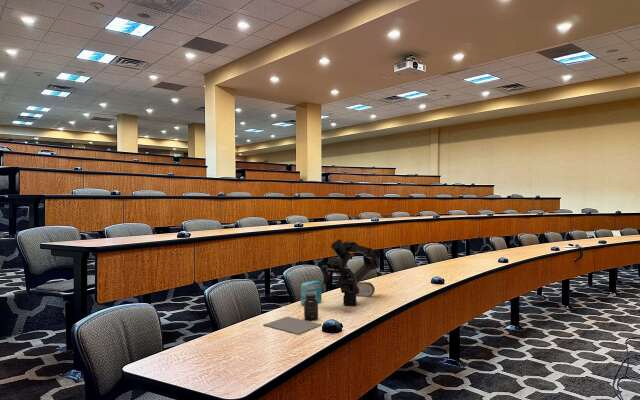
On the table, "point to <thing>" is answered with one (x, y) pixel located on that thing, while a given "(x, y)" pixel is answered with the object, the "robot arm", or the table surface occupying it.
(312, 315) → the supplement bottle
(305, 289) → the data package
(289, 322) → the mat
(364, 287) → the beige rounded slab
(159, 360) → the table surface
